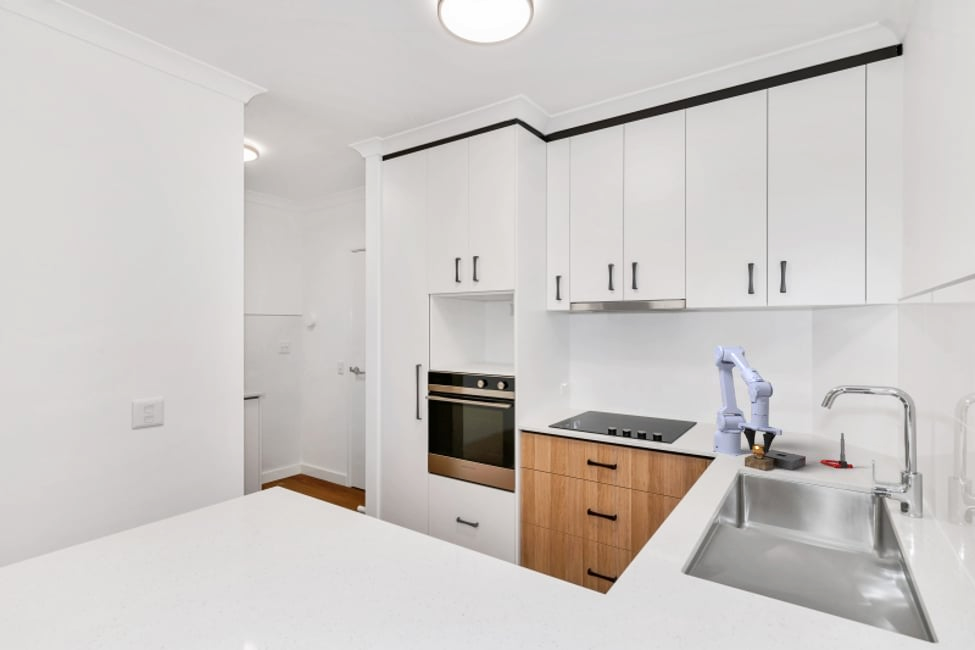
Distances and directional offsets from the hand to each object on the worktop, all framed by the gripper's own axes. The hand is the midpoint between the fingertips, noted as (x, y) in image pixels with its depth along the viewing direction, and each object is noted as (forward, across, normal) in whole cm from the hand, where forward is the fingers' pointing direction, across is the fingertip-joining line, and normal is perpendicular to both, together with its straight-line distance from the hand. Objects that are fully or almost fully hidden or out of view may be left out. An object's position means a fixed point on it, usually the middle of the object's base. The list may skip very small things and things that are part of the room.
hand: (759, 451), depth 176 cm
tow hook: (+6, +15, +28) cm, 33 cm away
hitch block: (+6, +3, +11) cm, 13 cm away
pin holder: (+6, 0, 0) cm, 6 cm away
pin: (+4, 0, 0) cm, 4 cm away
